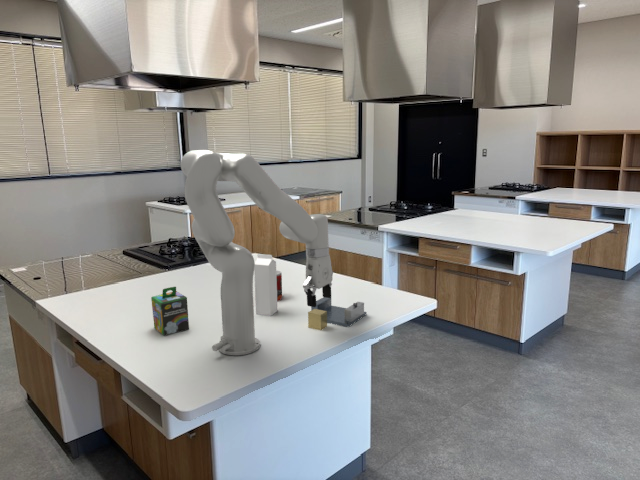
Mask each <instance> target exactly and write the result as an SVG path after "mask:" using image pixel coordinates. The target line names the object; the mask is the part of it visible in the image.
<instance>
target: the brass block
mask: <svg viewBox="0 0 640 480" xmlns="http://www.w3.org/2000/svg"><path fill="white" fill-rule="evenodd" d="M307 318H308V319H307V320H308V321H307V322H308V323H307V325H308V326H307V327H308V328H309V329H313V330H316V331H317V330H318V331H323V330H324V329H326V328H327V327H328V323H327V311H323V310H318V309H313V310H311V309H310V310H309V311H308V312H307ZM325 327H326V328H325ZM322 329H323V330H322Z"/></svg>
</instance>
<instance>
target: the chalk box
mask: <svg viewBox="0 0 640 480" xmlns="http://www.w3.org/2000/svg"><path fill="white" fill-rule="evenodd" d="M169 291H170V292H169ZM150 297H151V298H150V299H151V308H152V318H153V325H154V326H153V329H155V330H156V332H158V333H160V334H161V335H163V336H164V337H165V336H168V335H171V334H176V333H179V332H183V331H188V330H190V324H189V323H190V322H189V309H188V307H189V306H188V297H187V296H185V295H184V294H182V293H180V292H178V291H177V286H171V287H165V288H162V294H159V295H158V294H157V295H154V296H153V295H152V296H150Z"/></svg>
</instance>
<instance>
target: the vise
mask: <svg viewBox="0 0 640 480" xmlns="http://www.w3.org/2000/svg"><path fill="white" fill-rule="evenodd" d="M310 308H311V309H310V311H311V310H313V309H318V310H323V311H327V324H331V323H332V325H336V324H337V326H341V325H343V326H342V327H345V326H349V327H351V326H352V325H354V324H355V323H356V322H358V321H359V320H361V319H362V318H363V317H362V316H364V315H365V314H366V315H367V311H364V314H362V315H361V316H359V317H358V318H356V319H355V320H353V321H352V322H348V321H345V309H347V308H348V307H347V308H346V307H343V306H341V307H340V306H336V305H332V297H331V298H326V297H323V296H322V298H319V299H318V300H317V299H316V307H311V306H310ZM366 315H365V316H366ZM365 316H364V317H365ZM361 317H362V318H361ZM360 318H361V319H360ZM358 319H359V320H358ZM357 320H358V321H357ZM355 321H356V322H355ZM354 322H355V323H354ZM353 323H354V324H353ZM351 324H352V325H351ZM350 325H351V326H350Z"/></svg>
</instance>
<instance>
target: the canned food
mask: <svg viewBox="0 0 640 480" xmlns="http://www.w3.org/2000/svg"><path fill="white" fill-rule="evenodd" d="M276 277H277V302H279V301H281V300H282V298H283V279H282V278H283V275H282V271H280V270H277V269H276Z"/></svg>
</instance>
